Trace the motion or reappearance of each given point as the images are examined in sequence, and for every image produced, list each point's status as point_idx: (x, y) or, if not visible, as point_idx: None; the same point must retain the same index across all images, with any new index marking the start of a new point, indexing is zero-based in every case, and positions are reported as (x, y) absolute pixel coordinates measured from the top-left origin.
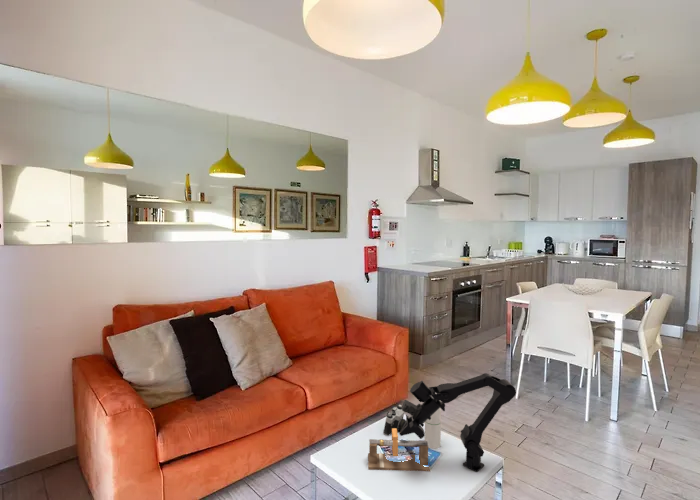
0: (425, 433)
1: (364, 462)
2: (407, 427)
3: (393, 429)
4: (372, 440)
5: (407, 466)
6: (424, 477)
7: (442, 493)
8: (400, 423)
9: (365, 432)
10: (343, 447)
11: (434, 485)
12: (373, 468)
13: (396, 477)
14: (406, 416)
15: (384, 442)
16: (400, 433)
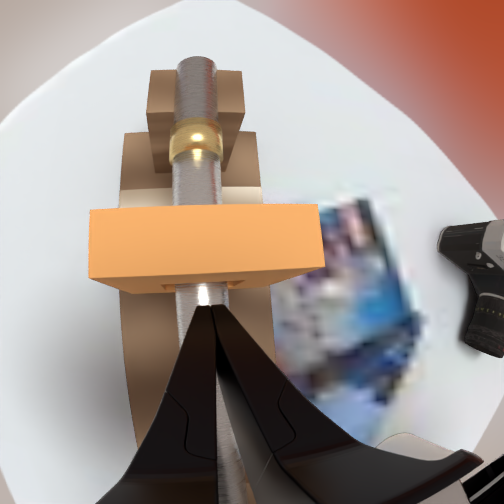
0: (423, 459)
1: None
2: (149, 463)
3: (290, 222)
4: (190, 72)
5: (143, 358)
6: (87, 435)
7: (7, 476)
8: (497, 305)
9: (430, 149)
10: (300, 54)
11: (43, 463)
12: (123, 160)
13: (63, 286)
14: (410, 499)
15: (177, 161)
16: (191, 319)
